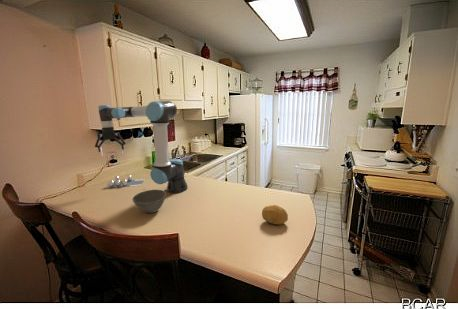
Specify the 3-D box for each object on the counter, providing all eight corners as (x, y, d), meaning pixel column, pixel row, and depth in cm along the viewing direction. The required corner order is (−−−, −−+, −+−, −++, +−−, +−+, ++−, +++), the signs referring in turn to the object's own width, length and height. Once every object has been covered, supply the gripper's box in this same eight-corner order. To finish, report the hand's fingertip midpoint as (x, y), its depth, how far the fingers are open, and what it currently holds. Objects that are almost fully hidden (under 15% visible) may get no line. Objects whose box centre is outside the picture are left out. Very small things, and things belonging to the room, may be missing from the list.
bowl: (134, 207, 136) (132, 193, 134) (165, 201, 143) (163, 187, 141) (134, 222, 119) (132, 205, 117) (169, 214, 126) (167, 198, 124)
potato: (285, 213, 104) (288, 203, 112) (258, 210, 110) (263, 200, 118) (286, 230, 107) (289, 219, 115) (260, 225, 113) (265, 215, 121)
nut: (124, 182, 179) (124, 179, 179) (124, 184, 175) (123, 181, 174) (118, 183, 178) (118, 180, 177) (118, 185, 173) (117, 182, 173)
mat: (145, 180, 186) (145, 179, 185) (140, 186, 171) (140, 185, 171) (112, 182, 183) (112, 181, 183) (104, 189, 168) (104, 188, 168)
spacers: (132, 180, 184) (131, 174, 183) (126, 186, 170) (125, 180, 169) (116, 181, 182) (115, 175, 181) (109, 187, 169) (108, 181, 168)
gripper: (126, 125, 166) (130, 152, 171) (89, 127, 157) (94, 155, 162) (125, 125, 159) (130, 154, 164) (86, 128, 150) (92, 158, 155)
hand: (112, 155), depth 163 cm, fingers open, 13 cm apart
